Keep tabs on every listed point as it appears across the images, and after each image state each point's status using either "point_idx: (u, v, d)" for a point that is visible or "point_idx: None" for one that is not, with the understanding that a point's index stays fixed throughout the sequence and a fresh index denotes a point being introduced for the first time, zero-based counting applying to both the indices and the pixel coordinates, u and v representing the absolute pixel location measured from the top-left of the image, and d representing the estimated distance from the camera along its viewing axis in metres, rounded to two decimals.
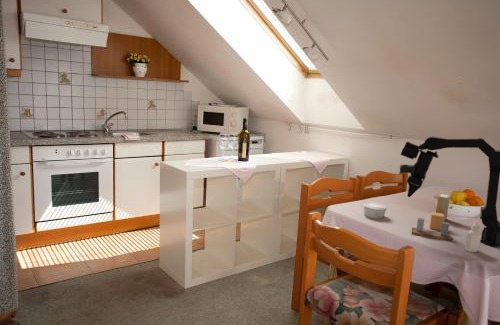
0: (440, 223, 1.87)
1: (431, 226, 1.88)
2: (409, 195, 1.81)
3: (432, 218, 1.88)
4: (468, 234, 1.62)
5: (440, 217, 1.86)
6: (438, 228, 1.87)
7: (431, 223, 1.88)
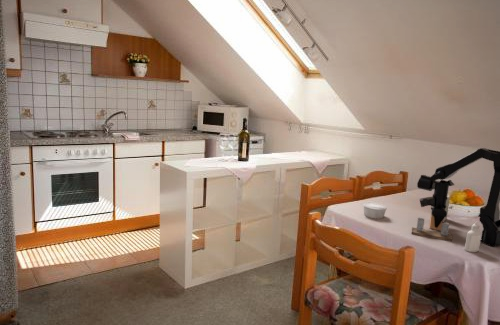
0: (440, 223, 1.87)
1: (431, 226, 1.88)
2: (436, 226, 1.87)
3: (432, 218, 1.88)
4: (468, 234, 1.62)
5: None
6: (438, 228, 1.87)
7: (431, 223, 1.88)
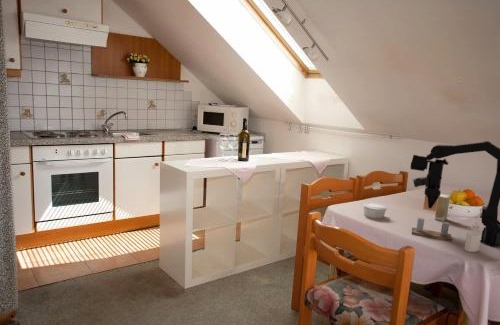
0: (434, 204, 1.80)
1: (425, 207, 1.82)
2: (430, 206, 1.80)
3: (426, 198, 1.81)
4: (468, 234, 1.62)
5: None
6: (432, 209, 1.81)
7: (425, 204, 1.82)
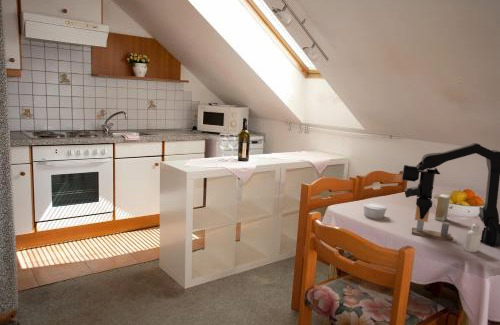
0: (426, 214, 1.76)
1: (416, 217, 1.78)
2: (422, 217, 1.77)
3: (417, 209, 1.78)
4: (468, 234, 1.62)
5: None
6: (423, 220, 1.77)
7: (416, 214, 1.78)
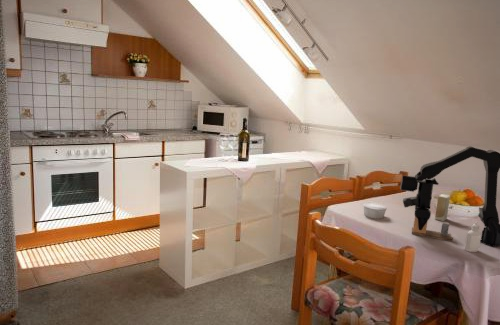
0: (424, 226, 1.77)
1: (414, 229, 1.79)
2: (420, 228, 1.76)
3: (415, 221, 1.78)
4: (468, 234, 1.62)
5: None
6: (422, 231, 1.78)
7: (414, 226, 1.79)
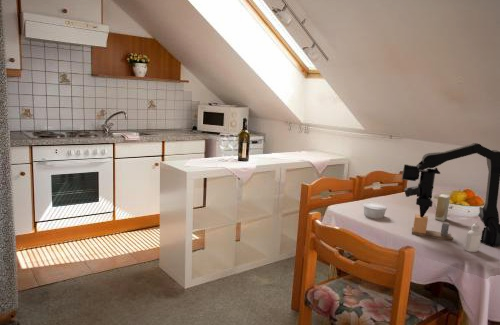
0: (424, 226, 1.77)
1: (414, 229, 1.79)
2: (422, 215, 1.79)
3: (415, 221, 1.78)
4: (468, 234, 1.62)
5: (424, 220, 1.77)
6: (422, 231, 1.78)
7: (414, 226, 1.79)
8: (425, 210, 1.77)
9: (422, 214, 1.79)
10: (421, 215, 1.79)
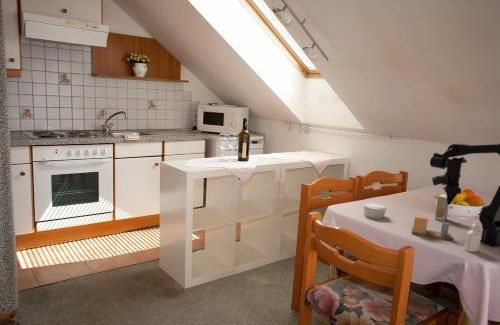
0: (424, 226, 1.77)
1: (414, 229, 1.79)
2: (449, 202, 1.86)
3: (415, 221, 1.78)
4: (468, 234, 1.62)
5: (424, 220, 1.77)
6: (422, 231, 1.78)
7: (414, 226, 1.79)
8: (452, 198, 1.85)
9: (449, 202, 1.86)
10: (448, 203, 1.87)
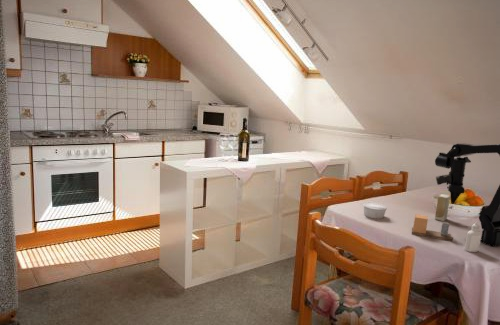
0: (424, 226, 1.77)
1: (414, 229, 1.79)
2: (453, 202, 1.88)
3: (415, 221, 1.78)
4: (468, 234, 1.62)
5: (424, 220, 1.77)
6: (422, 231, 1.78)
7: (414, 226, 1.79)
8: (456, 197, 1.86)
9: (453, 201, 1.87)
10: (452, 202, 1.88)
